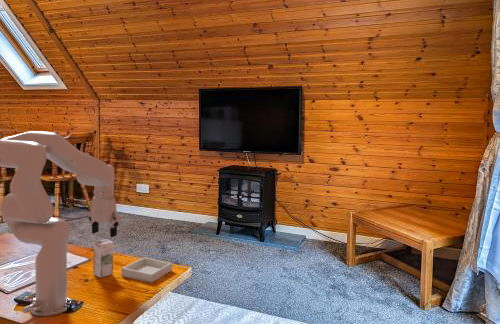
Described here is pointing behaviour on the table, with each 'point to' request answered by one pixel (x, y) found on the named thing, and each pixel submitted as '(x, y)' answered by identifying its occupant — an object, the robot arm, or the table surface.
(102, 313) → the table surface
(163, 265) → the tray
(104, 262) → the syrup box
